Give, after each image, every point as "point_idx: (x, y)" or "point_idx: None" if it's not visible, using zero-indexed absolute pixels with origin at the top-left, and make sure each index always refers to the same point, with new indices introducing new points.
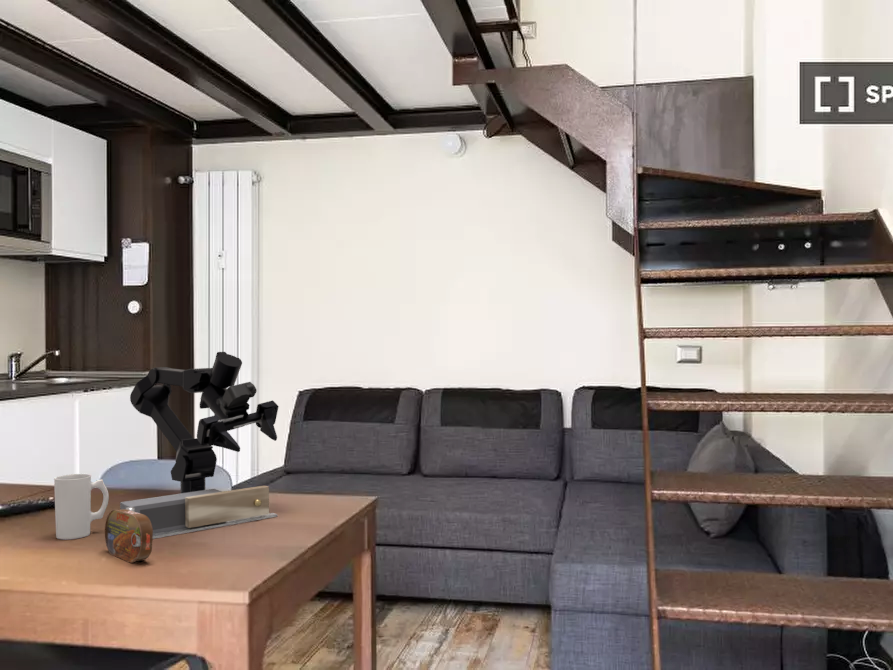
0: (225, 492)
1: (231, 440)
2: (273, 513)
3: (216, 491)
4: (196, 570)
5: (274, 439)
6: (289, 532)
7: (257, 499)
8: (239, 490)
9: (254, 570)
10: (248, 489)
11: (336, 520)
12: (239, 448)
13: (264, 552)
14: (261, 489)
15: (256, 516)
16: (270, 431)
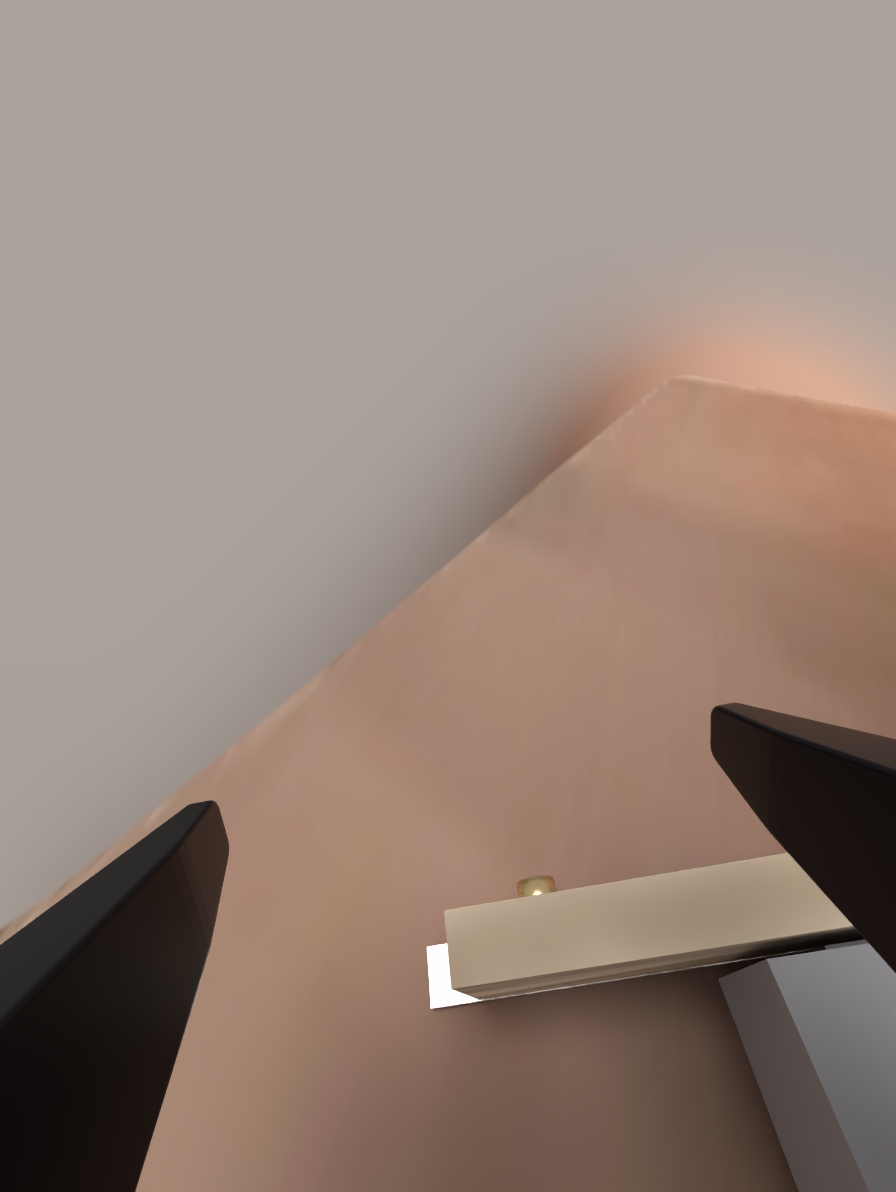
0: (766, 888)
1: (883, 740)
2: (436, 982)
3: (861, 1084)
4: (782, 462)
5: (224, 847)
6: (484, 657)
7: (536, 894)
8: (658, 899)
9: (646, 437)
10: (592, 898)
11: (284, 727)
12: (721, 706)
13: (605, 520)
14: (499, 902)
15: None
16: (150, 927)
